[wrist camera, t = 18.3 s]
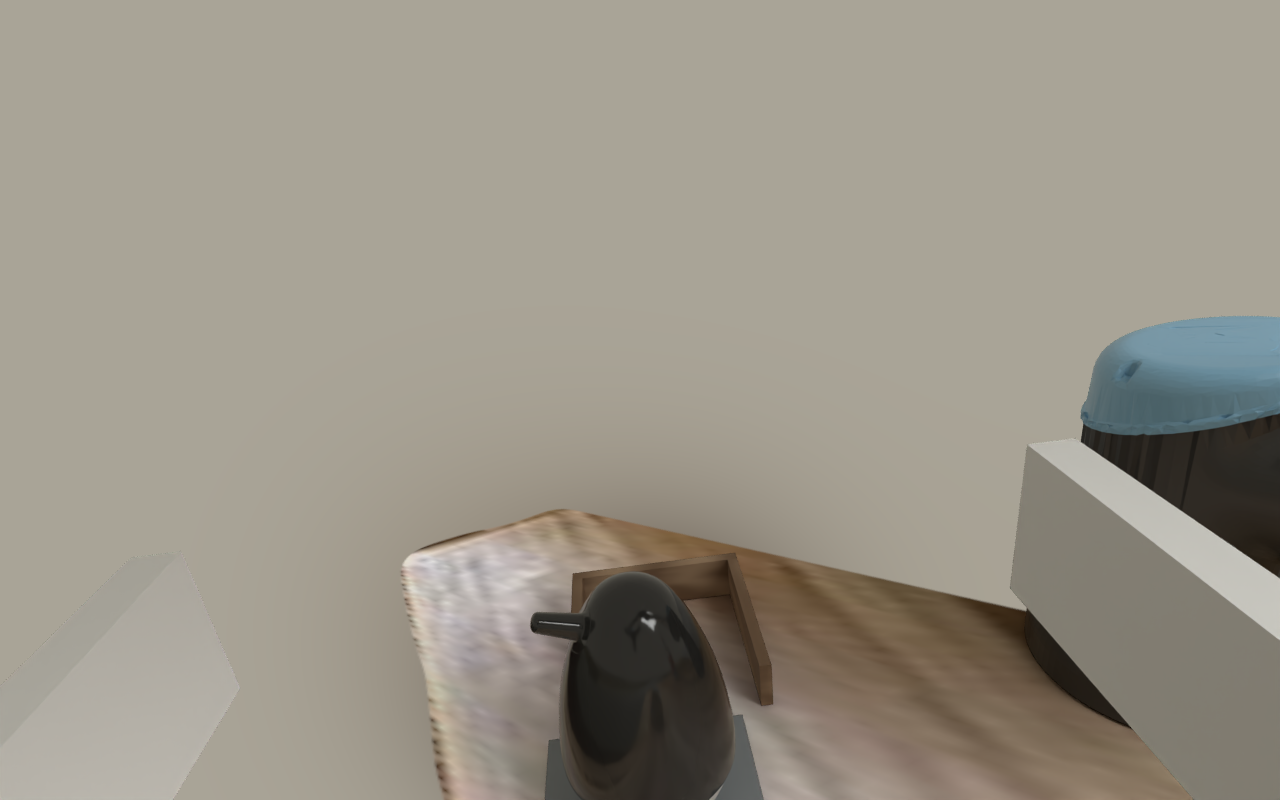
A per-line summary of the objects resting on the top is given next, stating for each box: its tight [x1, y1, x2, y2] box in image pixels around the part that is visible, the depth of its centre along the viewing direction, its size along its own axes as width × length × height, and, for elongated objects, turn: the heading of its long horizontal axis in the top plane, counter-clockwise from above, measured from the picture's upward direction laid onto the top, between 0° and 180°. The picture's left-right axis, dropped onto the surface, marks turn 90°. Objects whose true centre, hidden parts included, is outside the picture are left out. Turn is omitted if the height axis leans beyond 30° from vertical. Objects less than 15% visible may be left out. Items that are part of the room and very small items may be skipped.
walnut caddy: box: [571, 553, 773, 706], centre depth 53 cm, size 14×13×4 cm
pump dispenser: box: [530, 571, 736, 800], centre depth 40 cm, size 10×10×15 cm
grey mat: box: [545, 715, 764, 800], centre depth 43 cm, size 13×9×1 cm
